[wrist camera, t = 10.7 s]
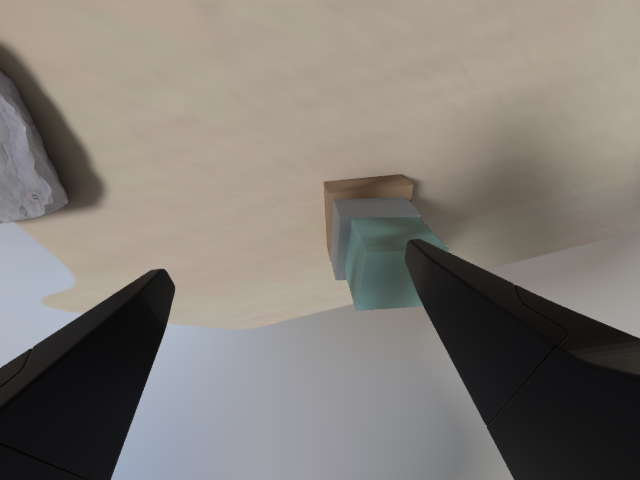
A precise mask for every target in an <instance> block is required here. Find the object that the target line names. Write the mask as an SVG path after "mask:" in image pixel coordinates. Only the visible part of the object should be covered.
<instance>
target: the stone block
mask: <svg viewBox="0 0 640 480" xmlns="http://www.w3.org/2000/svg"><path fill="white" fill-rule="evenodd" d="M65 204H68V198H67V195H66V192H65V189H64V188H63V186H62V184H61V183H60V181H59V179H58V175H57V172H56V171H55V169H54V166H53V164H52V162H51V161H50V160H49V159H48V156H47V153H46V150H45V148H44V145H43V139H42V137H41V135H40V133H39V132H38V130H37V128H36V126H35V124H34V122H33V120H32V117H31V115H30V113H29V112H28V110H27V108H26V107H25V105H24V103H23V101H22V99H21V97H20V94H19V91H18V89H17V87H16V86H15V84H14V83H13V81H12V80H11V79H10V78H9V77H7V76H6V75H5V74H4V73H3V72H2V71H1V70H0V223H8V222H13V221H18V220H24V219H31V218H36V217H40V216H43V215H46V214H50V213H52V212H54V211H57V210H59V209H60V208H62V207H63V206H65Z"/></svg>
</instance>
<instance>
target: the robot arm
mask: <svg viewBox="0 0 640 480" xmlns="http://www.w3.org/2000/svg"><path fill="white" fill-rule="evenodd" d="M405 263H406V266H407V268H408V271H409V274H410V276H411V279H412V281H413V284H414V287H415V289H416V292H417V294H418V296H419V298H420V300H421V302H422V304H423V306H424V308H425V310H426V312H427V314H428V316H429V317H430V320H431V321H432V323H433V325H434V327H435V329H436V331H437V333H438V335H439V337H440V339H441V341H442V343H443V344H444V346H445V348H446V350H447V352H448V354H449V356H450V358H451V360H452V362H453V364H454V365H455V367H456V369H457V371H458V373H459V375H460V377H461V379H462V381H463V383H464V385H465V386H466V388H467V390H468V392H469V394H470V396H471V398H472V400H473V402H474V404H475V405H476V407H477V409H478V411H479V413H480V415H481V417H482V419H483V421H484V423H485V424H486V425H487V429H488V431H489V433H490V435H491V436H492V438H493V440H494V442H495V444H496V446H497V448H498V450H499V452H500V453H501V455H502V457H503V459H504V461H505V463H506V464H507V467H508V469H509V471H510V473H511V475H512V476H513V478H514V480H640V338H638V337H635V336H632V335H630V334H627V333H625V332H623V331H620V330H618V329H615V328H613V327H611V326H608V325H606V324H603V323H601V322H599V321H596V320H594V319H591V318H589V317H587V316H585V315H582V314H580V313H577V312H575V311H573V310H570V309H568V308H566V307H563V306H561V305H558V304H556V303H554V302H552V301H549V300H547V299H545V298H543V297H541V296H538V295H536V294H534V293H532V292H530V291H528V290H526V289H524V288H522V287H520V286H517V285H515V286H514V284H513V283H511V282H509V281H507V280H505V279H503V278H501V277H499V276H496V275H494V274H492V273H490V272H488V271H486V270H484V269H482V268H480V267H478V266H476V265H474V264H471V263H469V262H467V261H465V260H463V259H461V258H459V257H457V256H455V255H453V254H451V253H449V252H446V251H444V250H442V249H440V248H438V247H436V246H434V245H432V244H430V243H428V242H426V241H424V240H421V239H410V240H408V242H407V246H406V252H405ZM174 293H175V285H174V283H173V281H172V280H171V278H170V276H169V274H168V273H167V271H166V270H165V269H155V270H151V271H149V272H147V273H146V274H144V275H143V276H141V277H140V278H138V279H137V280H135V281H133V282H132V283H130V284H129V285H127V286H126V287H124V288H123V289H121V290H120V291H118V292H117V293H115V294H113V295H112V296H110V297H109V298H107V299H106V300H104V301H103V302H101V303H100V304H98V305H97V306H95V307H94V308H92V309H90V310H89V311H87V312H86V313H84V314H83V315H81V316H80V317H78V318H77V319H75V320H74V321H72V322H70V323H69V324H67V325H66V326H64V327H63V328H61V329H60V330H58V331H57V332H55V333H54V334H52V335H50V336H49V337H48V338H46V339H44V340H43V341H41V342H40V343H38V344H37V345H35V346H34V347H33V349H29V350H27V351H26V352H25V353H23V354H21V355H20V356H18V357H17V358H15V359H13V360H12V361H10V362H9V363H7V364H6V365H4V366H2V367H1V368H0V480H111V477H112V474H113V472H114V469H115V466H116V464H117V461H118V458H119V455H120V453H121V450H122V447H123V445H124V441H125V439H126V436H127V433H128V431H129V428H130V425H131V423H132V420H133V417H134V414H135V412H136V409H137V406H138V404H139V401H140V398H141V395H142V392H143V390H144V387H145V384H146V382H147V379H148V376H149V373H150V371H151V368H152V365H153V362H154V360H155V357H156V354H157V352H158V348H159V346H160V343H161V340H162V338H163V335H164V332H165V329H166V325H167V322H168V318H169V314H170V310H171V305H172V301H173V297H174Z"/></svg>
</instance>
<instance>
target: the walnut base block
mask: <svg viewBox="0 0 640 480" xmlns="http://www.w3.org/2000/svg"><path fill="white" fill-rule="evenodd" d="M413 186H414V185H413V184H412V183H411V182H410V181H409V180H408V179H406V178H405V177H404V176H403V175H402V174H400V175H389V176H379V177H369V178H358V179H348V180H338V181H327V182H324V195H325V215H326V234H327V248H328V252H329V257H330V261H331V240H332V221H333V201H334V200H338V199H367V198H397V197H405V198H406V199H407V200H408V201H409V202H410V203H411V198H412V192H413Z"/></svg>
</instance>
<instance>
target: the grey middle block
mask: <svg viewBox="0 0 640 480" xmlns="http://www.w3.org/2000/svg"><path fill="white" fill-rule="evenodd" d="M421 215H422V214H421V213H420V212H419V211H418V210H417V209H416V208H415V207H414V206H413V205H412V204H411V203H410V202H409V201H408V200H407V199H406V198H405V197H397V198H367V199H338V200H334V201H333V221H332V240H331V262H332V266H333V270H334V275H335V279H336V280H347V277H346V274H345V266H346V259H347V251H348V243H349V236H350V228H351V220H352V218H395V217H419V218H420V219H421Z"/></svg>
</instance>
